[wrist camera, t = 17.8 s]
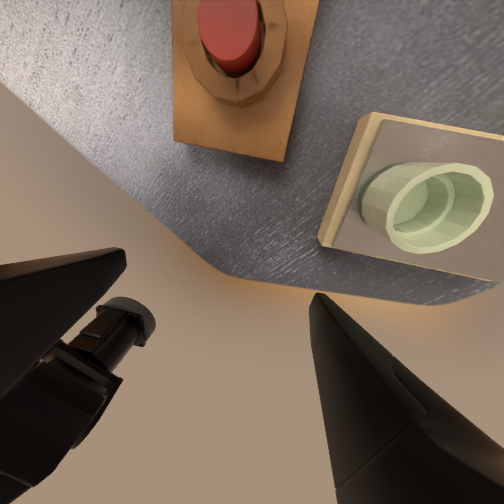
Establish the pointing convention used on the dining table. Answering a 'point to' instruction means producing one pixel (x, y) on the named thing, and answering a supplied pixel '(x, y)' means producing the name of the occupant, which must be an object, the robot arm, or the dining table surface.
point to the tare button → (230, 32)
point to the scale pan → (430, 150)
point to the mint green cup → (427, 204)
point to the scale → (353, 166)
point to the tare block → (241, 82)
